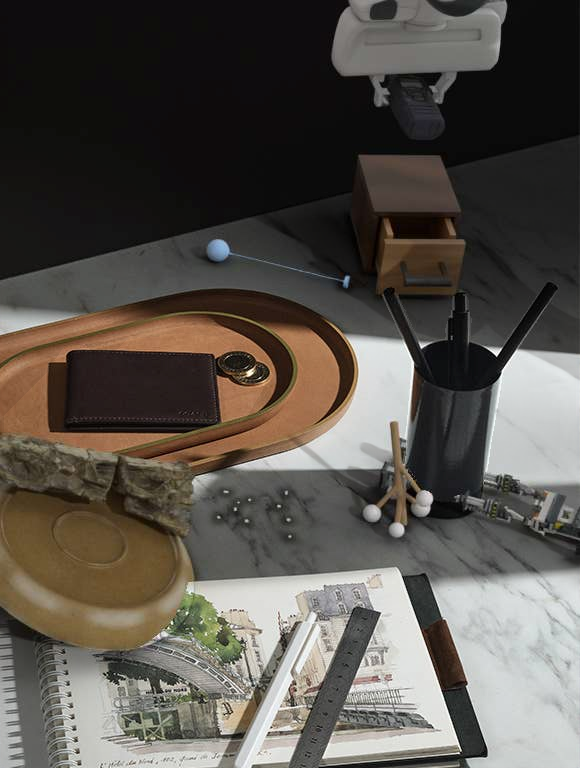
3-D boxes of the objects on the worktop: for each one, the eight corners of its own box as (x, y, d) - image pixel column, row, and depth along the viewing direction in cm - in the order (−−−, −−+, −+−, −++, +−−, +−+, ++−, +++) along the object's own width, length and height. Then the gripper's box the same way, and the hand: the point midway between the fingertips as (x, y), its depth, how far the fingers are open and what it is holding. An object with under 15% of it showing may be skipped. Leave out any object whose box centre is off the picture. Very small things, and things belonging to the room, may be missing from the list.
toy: (401, 423, 142) (683, 499, 130) (396, 470, 146) (669, 547, 135) (376, 466, 137) (668, 549, 125) (372, 513, 141) (654, 597, 129)
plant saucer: (-11, 622, 113) (-20, 646, 115) (233, 636, 122) (220, 658, 123) (-42, 441, 130) (-49, 465, 132) (173, 465, 139) (163, 487, 141)
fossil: (178, 450, 136) (216, 476, 127) (158, 515, 138) (194, 545, 129) (-14, 407, 128) (12, 432, 119) (-33, 477, 129) (-9, 507, 120)
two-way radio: (407, 117, 152) (376, 51, 162) (397, 149, 155) (367, 82, 165) (451, 119, 153) (417, 53, 163) (440, 150, 156) (407, 84, 166)
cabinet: (449, 273, 174) (461, 212, 168) (364, 272, 174) (374, 211, 168) (429, 214, 186) (440, 155, 180) (349, 214, 186) (358, 154, 180)
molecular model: (344, 297, 172) (345, 284, 169) (204, 263, 176) (203, 250, 174) (350, 279, 173) (352, 266, 170) (211, 245, 178) (210, 232, 175)
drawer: (462, 316, 165) (473, 264, 160) (382, 315, 165) (391, 264, 160) (435, 236, 180) (444, 187, 175) (361, 236, 180) (369, 187, 175)
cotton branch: (435, 421, 132) (444, 533, 134) (414, 412, 138) (424, 519, 140) (366, 432, 131) (377, 544, 133) (348, 422, 137) (359, 529, 140)
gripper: (501, -19, 154) (479, 88, 163) (335, -13, 152) (322, 95, 161) (519, 1, 149) (495, 111, 158) (348, 7, 147) (334, 118, 156)
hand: (407, 103), depth 159 cm, fingers closed on two-way radio, 5 cm apart
